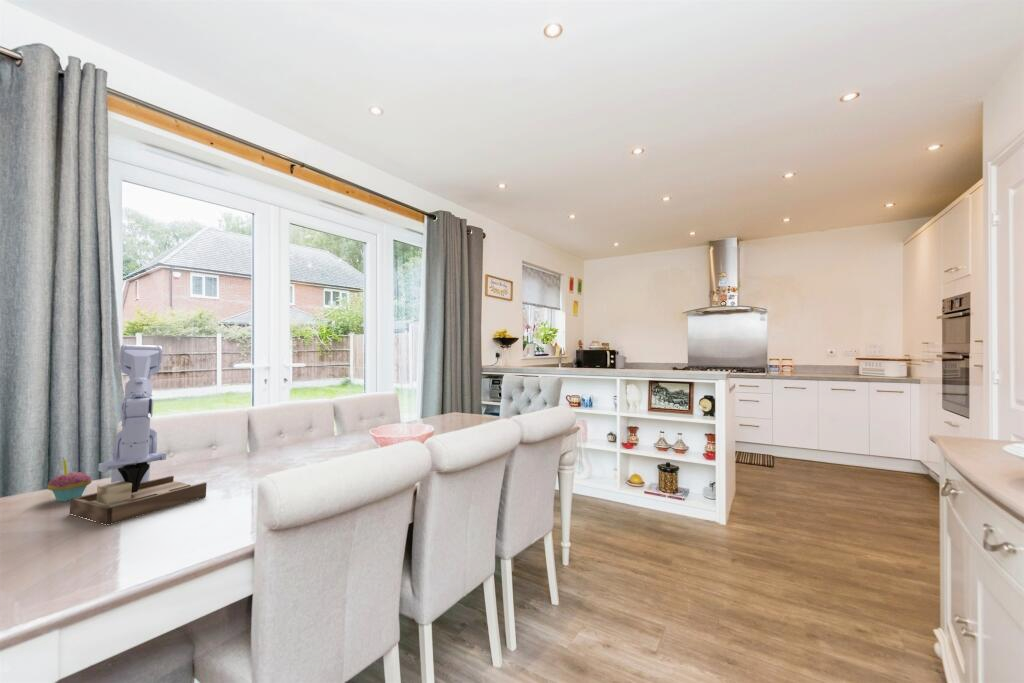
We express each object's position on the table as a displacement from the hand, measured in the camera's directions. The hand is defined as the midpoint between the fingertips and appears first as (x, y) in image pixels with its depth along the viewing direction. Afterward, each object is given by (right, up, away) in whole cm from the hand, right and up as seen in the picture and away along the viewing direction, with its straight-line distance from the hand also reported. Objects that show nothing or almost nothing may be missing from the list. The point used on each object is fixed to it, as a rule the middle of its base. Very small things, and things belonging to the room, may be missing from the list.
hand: (132, 491), depth 114 cm
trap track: (+3, -4, 0) cm, 5 cm away
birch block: (-1, -1, -4) cm, 4 cm away
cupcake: (-20, -3, +3) cm, 21 cm away
